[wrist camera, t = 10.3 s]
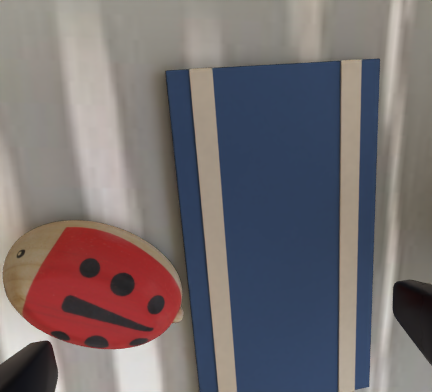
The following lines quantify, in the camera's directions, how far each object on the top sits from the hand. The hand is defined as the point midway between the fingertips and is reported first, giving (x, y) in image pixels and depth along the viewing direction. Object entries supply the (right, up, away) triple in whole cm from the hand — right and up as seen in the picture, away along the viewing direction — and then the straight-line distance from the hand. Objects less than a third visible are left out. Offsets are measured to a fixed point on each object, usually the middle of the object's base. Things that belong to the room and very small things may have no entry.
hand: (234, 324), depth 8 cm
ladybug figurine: (-7, -1, +11) cm, 13 cm away
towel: (+4, 0, +12) cm, 12 cm away
